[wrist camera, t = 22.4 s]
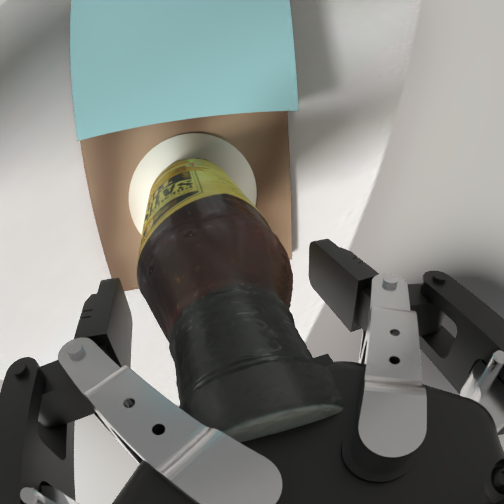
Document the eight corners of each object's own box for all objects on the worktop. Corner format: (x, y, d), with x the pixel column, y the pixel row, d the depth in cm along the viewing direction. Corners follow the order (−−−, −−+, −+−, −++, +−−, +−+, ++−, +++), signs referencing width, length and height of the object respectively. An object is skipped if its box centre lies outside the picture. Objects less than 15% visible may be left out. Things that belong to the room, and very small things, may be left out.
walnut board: (117, 286, 25) (116, 294, 24) (77, -4, 14) (73, -9, 13) (288, 254, 29) (293, 260, 27) (271, -24, 17) (276, -29, 16)
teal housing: (96, 136, 18) (77, 141, 14) (90, -17, 13) (75, -44, 8) (271, 111, 21) (298, 110, 17) (259, -33, 15) (281, -60, 11)
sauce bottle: (169, 142, 20) (198, 278, 3) (244, 174, 23) (455, 346, 6) (136, 222, 22) (109, 495, 5) (209, 248, 25) (310, 491, 7)
